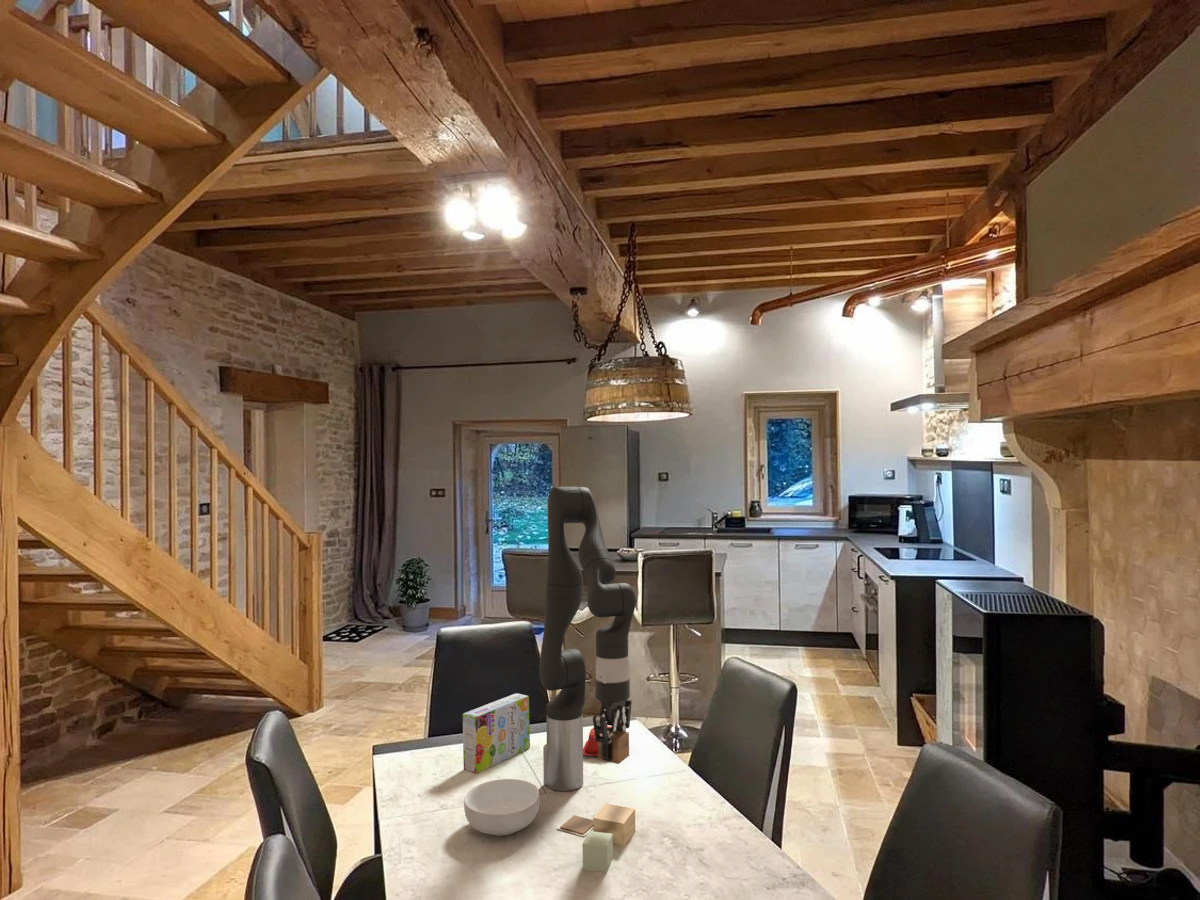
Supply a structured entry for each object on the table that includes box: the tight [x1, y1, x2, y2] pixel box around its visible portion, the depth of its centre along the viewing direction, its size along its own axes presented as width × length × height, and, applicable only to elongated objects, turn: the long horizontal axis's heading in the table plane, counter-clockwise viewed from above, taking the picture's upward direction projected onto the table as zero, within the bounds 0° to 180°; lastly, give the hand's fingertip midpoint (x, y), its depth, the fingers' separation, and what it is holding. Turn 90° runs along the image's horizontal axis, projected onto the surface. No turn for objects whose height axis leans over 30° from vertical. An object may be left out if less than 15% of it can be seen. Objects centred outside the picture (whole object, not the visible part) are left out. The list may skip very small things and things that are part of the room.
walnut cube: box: [597, 730, 630, 765], centre depth 150 cm, size 5×5×5 cm
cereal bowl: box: [463, 778, 540, 837], centre depth 154 cm, size 17×17×7 cm
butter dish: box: [583, 725, 612, 757], centre depth 196 cm, size 12×12×8 cm
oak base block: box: [592, 803, 636, 848], centre depth 149 cm, size 7×7×5 cm
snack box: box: [462, 692, 531, 774], centre depth 192 cm, size 21×6×15 cm, turn 144°
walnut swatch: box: [556, 814, 593, 838], centre depth 154 cm, size 7×7×1 cm
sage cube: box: [582, 830, 614, 873], centre depth 139 cm, size 5×5×5 cm
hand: (613, 755), depth 150 cm, fingers closed on walnut cube, 5 cm apart
